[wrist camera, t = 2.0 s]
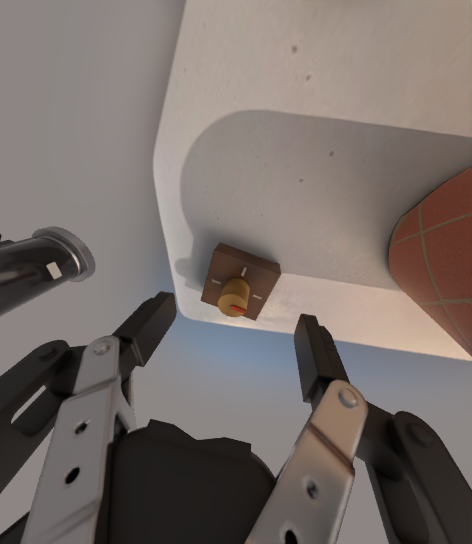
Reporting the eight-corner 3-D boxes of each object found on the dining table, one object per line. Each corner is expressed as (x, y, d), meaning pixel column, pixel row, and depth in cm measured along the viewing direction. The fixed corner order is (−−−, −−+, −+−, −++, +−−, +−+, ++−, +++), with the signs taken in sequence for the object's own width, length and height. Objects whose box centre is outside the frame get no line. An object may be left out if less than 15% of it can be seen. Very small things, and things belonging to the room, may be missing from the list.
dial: (221, 294, 27) (213, 312, 24) (228, 274, 25) (221, 291, 22) (244, 302, 27) (240, 322, 24) (253, 283, 25) (250, 302, 22)
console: (206, 290, 32) (200, 301, 29) (219, 242, 26) (213, 250, 24) (256, 309, 32) (255, 321, 29) (279, 264, 27) (281, 275, 24)
